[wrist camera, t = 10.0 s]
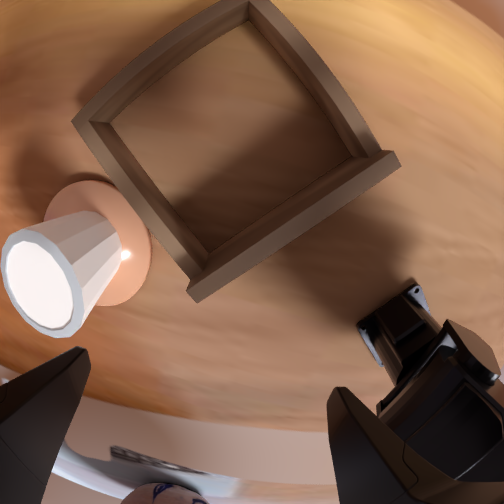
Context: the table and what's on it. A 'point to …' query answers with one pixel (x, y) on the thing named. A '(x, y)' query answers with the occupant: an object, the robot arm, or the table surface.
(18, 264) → the white cup
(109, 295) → the terracotta saucer
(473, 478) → the robot arm
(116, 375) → the table surface
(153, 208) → the brown wooden square tray
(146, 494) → the ceramic pitcher
